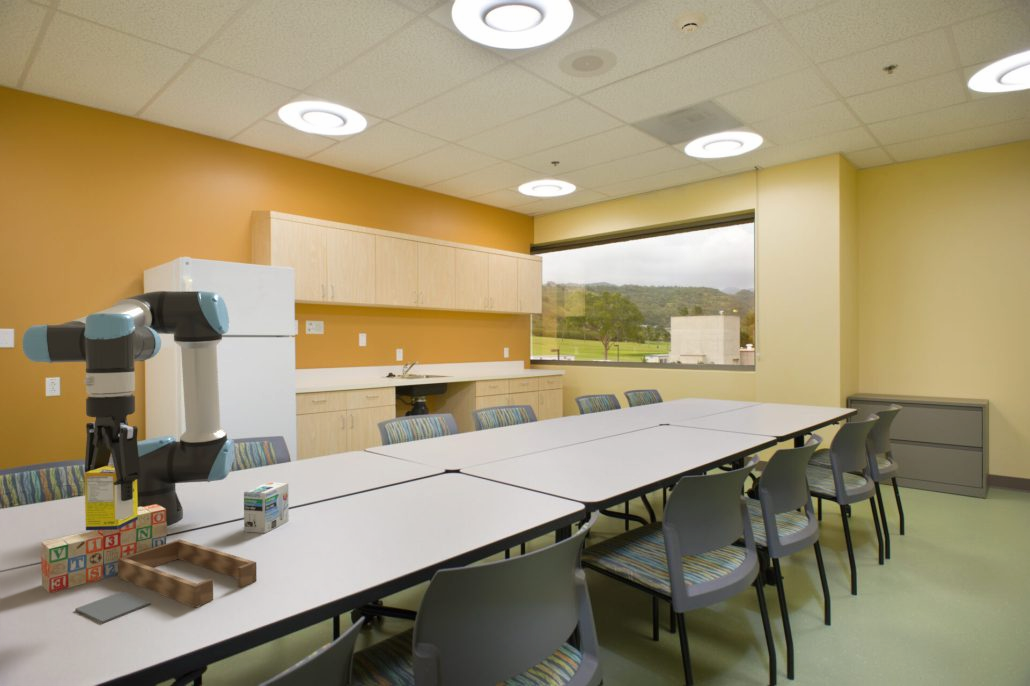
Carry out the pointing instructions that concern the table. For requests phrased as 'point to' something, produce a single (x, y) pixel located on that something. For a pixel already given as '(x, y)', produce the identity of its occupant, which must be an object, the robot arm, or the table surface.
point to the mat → (112, 607)
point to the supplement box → (105, 500)
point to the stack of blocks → (99, 550)
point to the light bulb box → (266, 507)
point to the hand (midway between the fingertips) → (112, 513)
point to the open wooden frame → (177, 588)
